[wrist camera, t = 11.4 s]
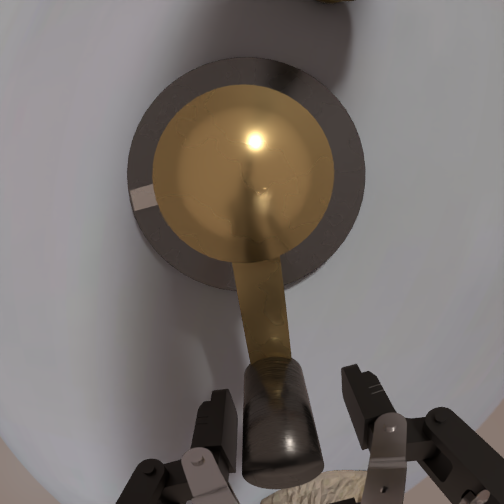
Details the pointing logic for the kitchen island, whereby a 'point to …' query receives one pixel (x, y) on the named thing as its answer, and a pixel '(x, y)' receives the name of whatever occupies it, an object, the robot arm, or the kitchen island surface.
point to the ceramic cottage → (323, 489)
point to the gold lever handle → (253, 246)
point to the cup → (332, 1)
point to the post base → (305, 93)
